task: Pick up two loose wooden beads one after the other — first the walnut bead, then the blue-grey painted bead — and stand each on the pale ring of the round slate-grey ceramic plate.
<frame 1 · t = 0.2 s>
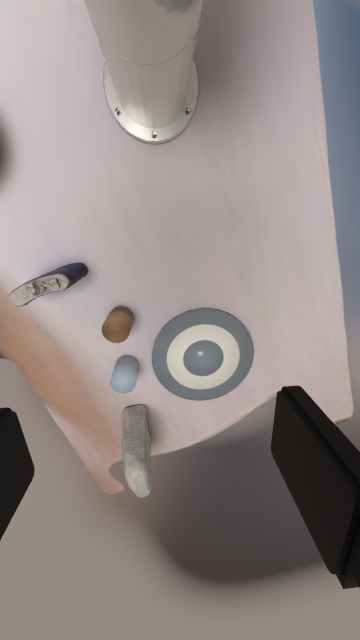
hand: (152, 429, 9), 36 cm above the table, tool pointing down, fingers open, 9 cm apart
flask: (63, 276, 42), on the table
decorative stone: (139, 423, 54), on the table
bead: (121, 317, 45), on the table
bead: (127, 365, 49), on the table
plate: (202, 356, 49), on the table
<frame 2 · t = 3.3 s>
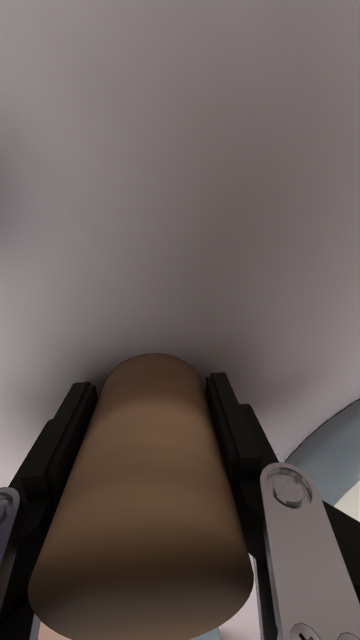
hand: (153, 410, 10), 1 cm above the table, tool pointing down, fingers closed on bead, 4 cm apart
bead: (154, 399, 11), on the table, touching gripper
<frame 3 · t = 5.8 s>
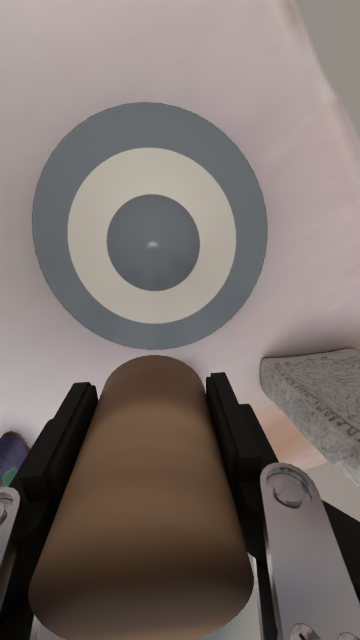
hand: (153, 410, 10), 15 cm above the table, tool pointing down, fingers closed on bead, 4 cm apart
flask: (29, 457, 30), on the table
decorative stone: (304, 366, 28), on the table
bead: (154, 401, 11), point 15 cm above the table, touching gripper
plate: (154, 245, 22), on the table
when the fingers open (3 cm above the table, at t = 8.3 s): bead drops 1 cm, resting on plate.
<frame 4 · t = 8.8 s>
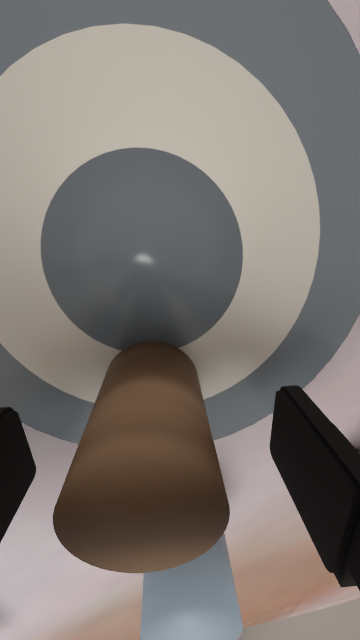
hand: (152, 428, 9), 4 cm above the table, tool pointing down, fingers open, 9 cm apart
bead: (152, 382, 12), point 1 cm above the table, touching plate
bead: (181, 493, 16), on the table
plate: (146, 261, 11), on the table
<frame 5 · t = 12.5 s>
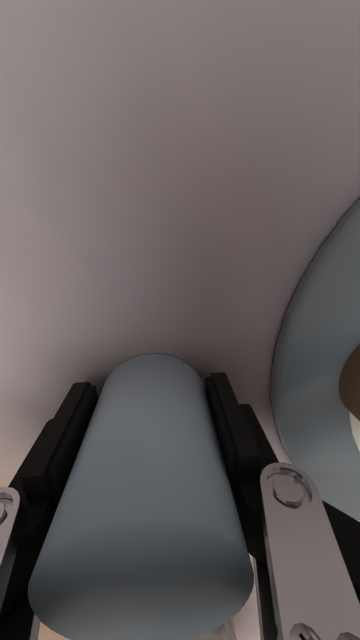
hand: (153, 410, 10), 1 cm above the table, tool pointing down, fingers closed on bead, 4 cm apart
decorative stone: (187, 587, 16), on the table
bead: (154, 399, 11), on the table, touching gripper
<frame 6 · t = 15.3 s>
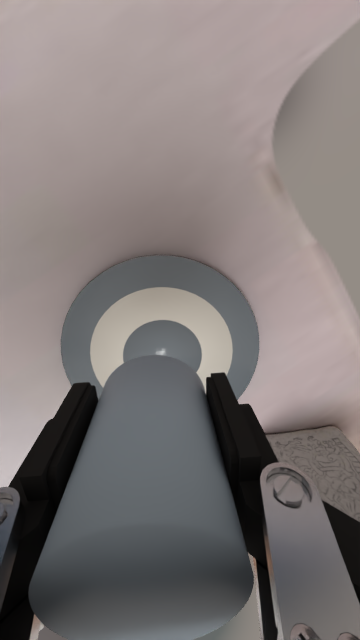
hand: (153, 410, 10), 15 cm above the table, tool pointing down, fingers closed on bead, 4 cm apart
decorative stone: (294, 439, 32), on the table
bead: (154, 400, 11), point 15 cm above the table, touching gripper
plate: (162, 352, 26), on the table
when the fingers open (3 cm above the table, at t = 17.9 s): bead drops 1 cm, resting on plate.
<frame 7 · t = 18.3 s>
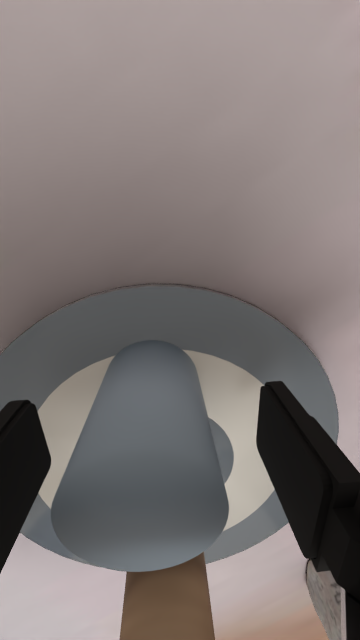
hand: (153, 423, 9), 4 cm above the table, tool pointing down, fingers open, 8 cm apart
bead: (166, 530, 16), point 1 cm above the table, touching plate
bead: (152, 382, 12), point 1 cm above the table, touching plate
plate: (162, 449, 15), on the table
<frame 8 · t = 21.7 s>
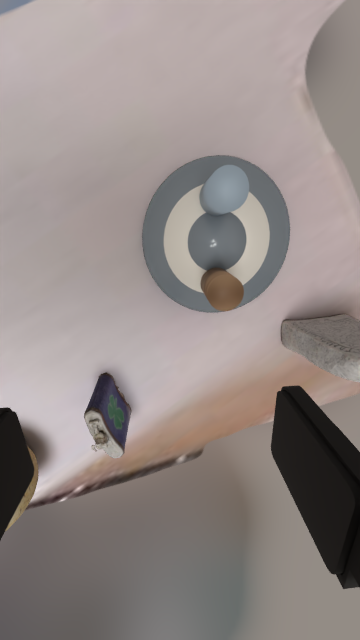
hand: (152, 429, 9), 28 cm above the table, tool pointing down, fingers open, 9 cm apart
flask: (114, 394, 42), on the table
fossilized egg: (15, 448, 44), on the table
decorative stone: (312, 327, 40), on the table
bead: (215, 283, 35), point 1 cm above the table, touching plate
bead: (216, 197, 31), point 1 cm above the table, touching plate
plate: (215, 241, 34), on the table
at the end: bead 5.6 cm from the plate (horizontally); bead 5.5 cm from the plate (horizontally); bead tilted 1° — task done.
